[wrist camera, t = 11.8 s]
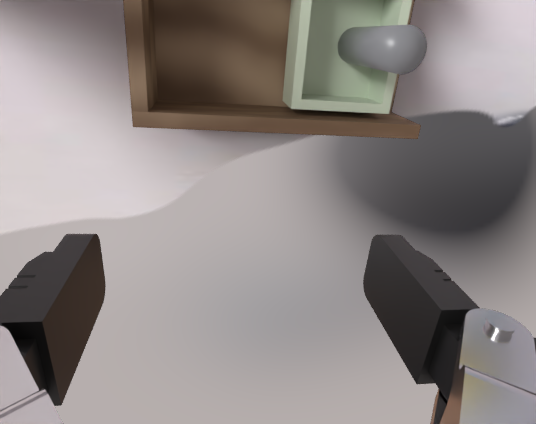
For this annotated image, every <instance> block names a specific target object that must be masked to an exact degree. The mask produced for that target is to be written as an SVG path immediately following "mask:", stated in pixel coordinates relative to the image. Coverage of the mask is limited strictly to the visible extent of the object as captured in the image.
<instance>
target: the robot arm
mask: <svg viewBox="0 0 536 424" xmlns="http://www.w3.org/2000/svg"><path fill="white" fill-rule="evenodd" d="M363 281H364V282H363V284H364V292H365V296H366V298H367V300H368V301H369V303H370V305H371V307H372V308H373V309H374V312H375V313H376V315H377V317H378V319H379V320H380V322H381V324H382V325H383V327H384V329H385V331H386V332H387V334H388V336H389V337H390V339H391V341H392V343H393V344H394V346H395V348H396V349H397V351H398V353H399V354H400V356H401V358H402V360H403V361H404V363H405V365H406V367H407V368H408V370H409V372H410V373H411V375H412V377H413V378H414V380H415V382H416V384H428V383H436V385H437V386H438V388H439V389H438V392H437V395H436V397H435V402H434V407H433V413H432V419H431V423H430V424H536V338H533V336H532V334H531V333H530V332H529V330H528V329H527V328H526V327H525V326H524V325H522V324H521V323H520V322H518V321H517V320H515V319H514V318H512V317H510V316H508V315H506V314H503V313H501V312H498V311H495V310H490V309H483V308H479V307H478V306H477V305H476V304H475V303H474V302H473V301H472V300H471V299H470V298H469V297H468V296H467V294H466V293H465V292H464V291H462V290H461V288H460V287H459V286H458V285H457V284H456V283H455V282H454V281H451V278H450V277H449V276H448V275H447V274H446V273H445V272H443V270H442V269H441V268H440V267H439V266H438V265H437V264H436V263H435V262H434V261H433V260H432V259H431V258H429V257H427V256H426V255H424V254H422V253H420V252H419V251H416V250H415V249H414V248H413V247H412V246H411V245H410V244H409V243H408V242H407V241H406V240H405V239H404V238H403V237H402V236H401V235H376V236H374V237H373V239H372V242H371V246H370V251H369V256H368V260H367V265H366V270H365V274H364V280H363ZM104 296H105V276H104V269H103V261H102V253H101V247H100V240H99V237H98V235H97V234H66V235H65V236H64V238H63V239H62V241H61V242H60V243H59V245H58V246H57V247H56V249H55V250H54V251H53V252H44V253H42V254H41V255H39V256H37V257H36V258H34V259H33V260H31V261H29V262H28V263H27V264H26V265H25V266H24V268H23V269H22V270H21V271H20V272H19V274H18V275H17V278H15V279H14V280H13V281H12V282H11V284H10V285H9V288H8V289H6V290H5V291H4V292H3V293H2V295H1V296H0V424H64V423H63V421H62V420H61V418H60V416H59V414H58V412H57V410H56V408H55V406H58V405H62V403H63V400H64V398H65V395H66V393H67V390H68V388H69V385H70V383H71V380H72V378H73V376H74V373H75V371H76V368H77V366H78V363H79V361H80V358H81V356H82V353H83V351H84V349H85V346H86V344H87V341H88V339H89V336H90V334H91V331H92V329H93V326H94V324H95V322H96V319H97V317H98V314H99V312H100V309H101V307H102V304H103V301H104Z"/></svg>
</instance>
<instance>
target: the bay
mask: <svg viewBox="0 0 536 424" xmlns="http://www.w3.org/2000/svg"><path fill="white" fill-rule="evenodd" d="M414 1H415V0H412V4H411V9H410V14H409V19H408V23H407V25H410V20H411V15H412V10H413V5H414ZM123 5H124V18H125V31H126V44H127V56H128V69H129V82H130V95H131V108H132V121H133V127H147V128H170V129H194V130H218V131H241V132H265V133H289V134H312V135H336V136H360V137H383V138H384V137H385V138H407V139H418V135H419V131H420V127H421V125H419V124H417V123H414V122H412V121H410V120H408V119H405V118H403V117H401V116H399V115H396V114H394V113H392V107H393V102H394V97H395V92H396V88H397V83H398V78H399V74H397V77H396V82H395V87H394V92H393V97H392V102H391V107H390V112H389V114H380V113H361V112H342V111H323V110H304V109H291V108H290V107H289V106H288V105H287V104H285V103H284V102H283V101H282V100H283V88H284V76H285V65H286V53H287V42H288V30H289V18H290V7H291V0H123Z"/></svg>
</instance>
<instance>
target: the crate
mask: <svg viewBox="0 0 536 424" xmlns="http://www.w3.org/2000/svg"><path fill="white" fill-rule="evenodd" d="M411 4H412V0H291V7H290V18H289V30H288V42H287V53H286V65H285V76H284V88H283V100H282V101H283V102H284V103H285V104H287V105H288V106H289V107H290V108H291V109H304V110H323V111H342V112H361V113H380V114H389V112H390V107H391V102H392V97H393V92H394V87H395V82H396V77H397V74H407V73H409V72H411V71H413V70H415V69H416V68H417V67H418V66H419V65H420V64H421V62H422V60H423V59H424V56H425V53H426V48H427V42H426V38H425V35H424V33H423V32H422V31H421V30H420V29H419V28H418V27H416V26H414V25H407V23H408V19H409V14H410V9H411Z"/></svg>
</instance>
